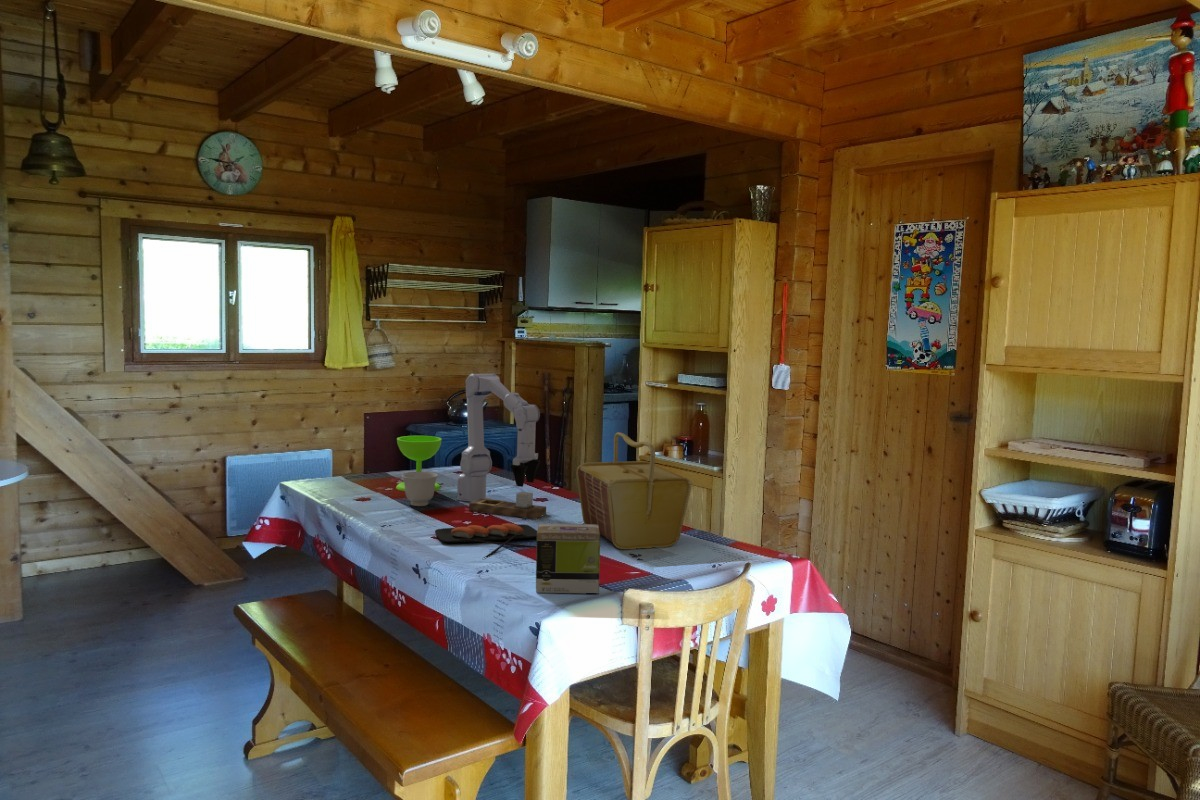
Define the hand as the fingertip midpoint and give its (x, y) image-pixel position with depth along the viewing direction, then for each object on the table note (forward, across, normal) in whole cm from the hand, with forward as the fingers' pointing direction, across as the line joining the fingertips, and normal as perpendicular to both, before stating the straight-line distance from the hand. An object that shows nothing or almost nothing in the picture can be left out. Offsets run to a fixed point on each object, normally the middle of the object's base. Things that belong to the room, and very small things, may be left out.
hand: (525, 484), depth 280 cm
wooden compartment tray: (+10, 0, +6) cm, 12 cm away
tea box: (+10, -63, -42) cm, 76 cm away
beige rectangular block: (+10, 0, 0) cm, 10 cm away
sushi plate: (+11, -36, -8) cm, 38 cm away
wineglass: (+10, +19, +52) cm, 56 cm away
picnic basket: (+10, -11, -40) cm, 43 cm away
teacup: (+10, -3, +37) cm, 38 cm away
